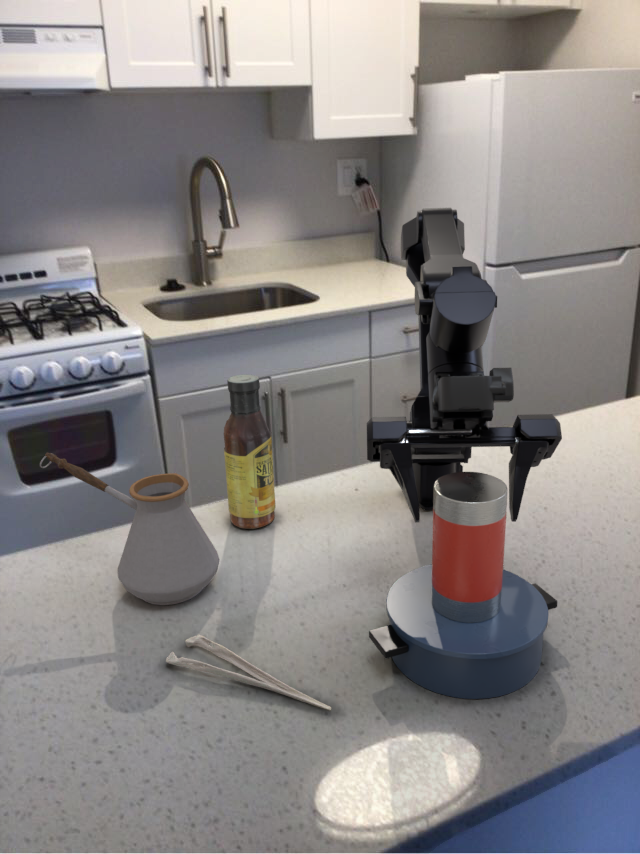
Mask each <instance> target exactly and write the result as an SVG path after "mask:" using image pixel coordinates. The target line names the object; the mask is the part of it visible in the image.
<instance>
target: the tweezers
mask: <svg viewBox="0 0 640 854" xmlns="http://www.w3.org/2000/svg"><path fill="white" fill-rule="evenodd" d="M184 642H185V644H186V647H187V648H190V647H193V646H194V647H200V648H202V649H205V650H207V651H209V652H210V653H212V654H213V655H214V656H216V657H219V658H220V659H223V660H225V661H227V662H228V663H230V664H232V665H233V666H235V667H237V668H239V669H241V671H243V672H246V673H247V674H249V675H250V676H247V675H244V674H241V673H238V672H234V671H231V670H228V669H225V668H221V667H217V666H215V665H212V664H210V663H207V662H204V661H200V660H196V659H193V658H186V657H183V656H180V657H178V656H177V655H176V654H175V652H174V651H171V652H170V653H169V654H168V656H167V657H166V658H165V662H166V663H167V664H168V665H173V666H177V667H181V668H186V669H190V670H194V671H196V672H197V671H198V672H202V673H208V674H213V675H216V676H220V677H224V678H226V679H231V680H233V681H237V682H240V683H244V684H247V685H251V686H255V687H259V688H262V689H264V690H269V691H271V692H275V693H277V694H281V695H283V696H286V697H289V698H292V699H294V700H298V701H300V702H302V703H306V704H309V705H312V706H314V707H318V708H321V709H323V710H328V711H332V707H331V706H330V705H327V704H325V703H323V702H321V701H319V700H317V699H315V698H313V697H312V696H309V695H307V694H305V693H304V692H301V691H299V690H297V689H295V688H294V687H292V686H290V685H288V684H286V683H284V682H283V681H281V680H279V679H278V678H276V677H275V676H273V675H271V674H269V673H268V672H266V671H264V670H262V669H260V668H259V667H257V666H256V665H254V664H252V663H251V662H249V661H247V660H246V659H245V658H243V657H241V656H240V655H238V654H236V653H235V652H234V651H232V650H230V649H229V648H227V647H225V646H224V645H222V644H219V643H217V642H215V641H213V640H211V639H209V638H207V637H205V636H204V635H201V634H197V635H194V636H190V637H188V638H187V639H186V640H185V641H184ZM210 644H212V645H210Z"/></svg>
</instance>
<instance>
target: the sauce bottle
mask: <svg viewBox="0 0 640 854" xmlns="http://www.w3.org/2000/svg"><path fill="white" fill-rule="evenodd" d="M226 381H227V382H226V383H227V390H228V392H229V403H230V406H229V411H230V414H229V417H228V419H227V420H226V421H225V425H224V427H223V443H224V447H223V453H224V467H225V479H226V480H225V481H226V493H227V503H228V504H227V505H228V512H229V515H230V516H229V517H230V522H231V523H232V524H233V525H234V526H235V527H237V528H240V529H248V530H255V529H256V530H257V529H259V528H263V527H266V526H267V525H269V524H271V523H273V521H274V520H275V517H276V516H275V515H276V514H275V510H276V492H275V491H276V490H275V477H274V475H275V474H274V458H273V456H274V455H273V443H272V442H273V441H272V439H273V438H272V434H271V431H270V429H269V426H268V424H267V422H266V420H265V418H264V415H263V413H262V410H261V407H262V406H261V405H260V404H261V403H260V392H259V390H260V388H261V385H260V378H259V376H257V375H255V374H247V373H246V374H237V375H233V376H230V377H228V379H227V380H226Z"/></svg>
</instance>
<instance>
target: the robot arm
mask: <svg viewBox="0 0 640 854" xmlns="http://www.w3.org/2000/svg"><path fill="white" fill-rule="evenodd" d="M400 233H401V234H400V260H401V261H405V276H406V278H407V279H409V280H408V281H409V282H410V283H411V284H412V286H413V287H414V312H415V313H414V314H415V315H417V316H418V351H419V354H418V355H419V382H420V383H419V386H420V391H419V392H418V394H417V395H416V398H415V399H414V400H413V402H412V404H411V407H410V411H409V420H407V416H372V417H371V418H370V419H368V421H367V422H366V460H367V461H369V462H372V463H377V462H378V463H379V468H380V469H382V470H383V469H384V470H389V471H390V473H391V474H392V476H393V478H394V479H395V481H396V482H397V484H398V486H399V488H400V490H401V491H402V493H403V494H402V495H403V497H404V499H405V501H406V503H407V506H408V507H409V511H410V514H411V516H412V518H413V520H414V522H415V523H420V521H421V514H420V512H421V511H420V508H421V509H422V510H423V511H426V512H427V511H433V495H434V483H435V481H436V480H437V479H438V478H440V477H442V476H444V475H447V474H450V473H455V472H464V465H462V464H469V459H471V458H472V448H491V447H492V448H495V447H498V448H499V447H500V448H502V447H509V454H511V455H512V456H511V457H510V460H509V461H508V508H509V515H510V520H511V522H513V523H515V522H517V520H518V518H519V514H520V513H519V512H520V510H521V506H522V505H521V504H522V500H523V496H524V493H525V488H526V484H527V480H528V477H529V473H530V470H531V468H536V467H539V466H540V464H541V462H542V461H543V460H547V459H551V458H552V456H553V454H554V453H555V451H556V449H558V446H559V445H560V443H561V441H562V440H563V436H562V428H561V422H560V421H559V419H558V418H557V417H556V416H555V415H554V414H553V413H546V414H544V413H541V414H540V413H539V414H537V413H535V414H517V415H516V417H515V419H514V422H513V424H512V426H490V427H489V422H492V421H493V418H494V410H495V403H497V404H498V403H510V402H512V401H513V400H514V396H515V390H514V388H515V387H514V386H515V385H514V377H513V376H514V375H513V369H512V367H493V368H491V369H490V370H489V375H485V371H484V359H483V358H484V357H483V348H482V347H483V346H484V344H485V342H486V340H487V337H488V334H489V330H490V326H491V322H492V319H493V314H494V311H495V309H496V308H498V295H497V294H496V292H495V291H494V289H493V288H492V286H491V285H490V284H489V283H488V280H487V279H483V277H482V274H481V273H482V272H481V270H480V268H479V266H478V264H477V263H476V262H475V261H472V260H469V259H468V258H467V259H466V258H465V257H464V252H465V251H466V242H465V240H466V239H465V223H464V222H463V221H462V220H461V219H459V218H458V210H457V209H453V208H452V207H430V208H429V207H427V208H426V207H425V208H422V209H421V210H417V212H416V216H415V217H414V218H412V219H410V220H409V221H407V222H405V223H404V224H403V225H402V226H401V232H400ZM461 463H462V464H461Z"/></svg>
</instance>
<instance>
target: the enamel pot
mask: <svg viewBox="0 0 640 854" xmlns="http://www.w3.org/2000/svg"><path fill="white" fill-rule="evenodd" d="M431 598H432V563H430V564H426V565H422V566H419V567H417V568H415V569H412V570H410V571H408V572H406V573H404V574H403V575H402V576H400V577H398V579H397V580H396V581H394V582H393V584H392V585H391V586H390V588H389V590H388V592H387V594H386V598H385V606H386V607H385V609H386V615H387V617H388V621H389V623H388V624H387V625H384V626H380V627H377V628H373V629H369V630H368V638H369V639H370V641H371V642H372V643H373V645H374V646H375V647H376V648H377V650H378V651H379V653H381V655H382V657H384V659H385V660H387V659H390V658H392V661H393V662H394V664H395V666H396V667H397V668H398V670H399V671H400V672H401V673H402V674H403V675H404V676H406V678H408V679H409V680H410V681H412V682H414V683H415V684H416V685H418V686H420V687H422V688H424V689H426V690H429V691H431V692H434V693H436V694H440V695H443V696H445V697H450V698H451V697H452V698H456V699H457V698H458V699H467V700H483V699H492V698H498V697H502V696H505V695H509V694H511V693H514V692H516V691H519V690H520V689H521V688H523V687H525V686H526V685H528V684H529V683H530V682H531V681H532V680H533V679H534V678H535V676H536V675H537V674H538V672H539V670H540V667H541V666H542V665H541V664H542V656H543V655H542V654H543V644H544V633H545V632H546V630H547V626H548V623H549V610H553V609H556V608H558V600H557V599H556V598H555V597H553V596H552V595H551V594H549V592H547V591H546V590H544V589H543V588H542V587H541V586H540V585H538V584H537V583H535V582H534V583H530V582H529V581H528V580H526V579H525V578H523V577H521V576H520V575H517V574H515V573H514V572H511V571H509V570H506V569H504V568H503V580H502V593H501V607H500V610H499V612H498V613H497V614H496V615H495V616H494V617H493V618H491V619H489V620H486V621H483V622H477V623H464V622H457V621H453V620H450V619H448V618H446V617H444V616H442V615H441V614H439V613H438V612H437V611H436V610H435V609H434V607H433V605H432V601H431Z"/></svg>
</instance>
